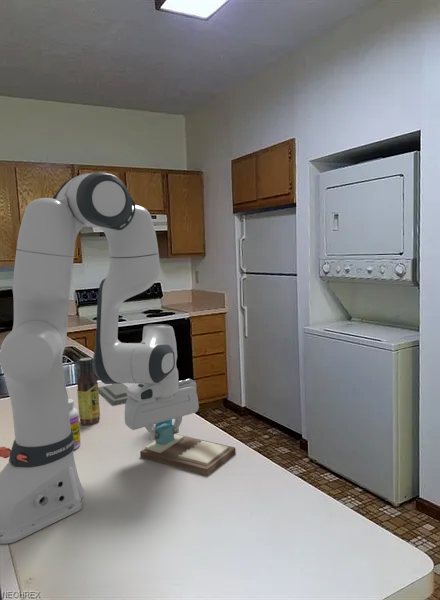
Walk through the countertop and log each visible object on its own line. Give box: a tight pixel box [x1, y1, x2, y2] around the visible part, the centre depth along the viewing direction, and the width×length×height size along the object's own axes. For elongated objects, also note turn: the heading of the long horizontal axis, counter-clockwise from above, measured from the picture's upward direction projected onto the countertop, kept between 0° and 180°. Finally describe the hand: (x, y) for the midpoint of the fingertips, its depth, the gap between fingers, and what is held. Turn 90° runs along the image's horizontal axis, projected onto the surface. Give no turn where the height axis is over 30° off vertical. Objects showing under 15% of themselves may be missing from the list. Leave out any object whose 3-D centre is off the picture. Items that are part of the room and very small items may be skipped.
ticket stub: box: [144, 423, 185, 453], centre depth 122 cm, size 10×5×5 cm, turn 148°
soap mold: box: [98, 383, 129, 406], centre depth 169 cm, size 10×20×4 cm, turn 29°
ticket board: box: [139, 433, 237, 476], centre depth 118 cm, size 13×20×2 cm, turn 58°
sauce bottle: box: [76, 357, 101, 425], centre depth 143 cm, size 7×6×20 cm
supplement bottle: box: [68, 398, 81, 451], centre depth 126 cm, size 7×7×13 cm
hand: (164, 436), depth 122 cm, fingers closed on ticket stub, 5 cm apart
